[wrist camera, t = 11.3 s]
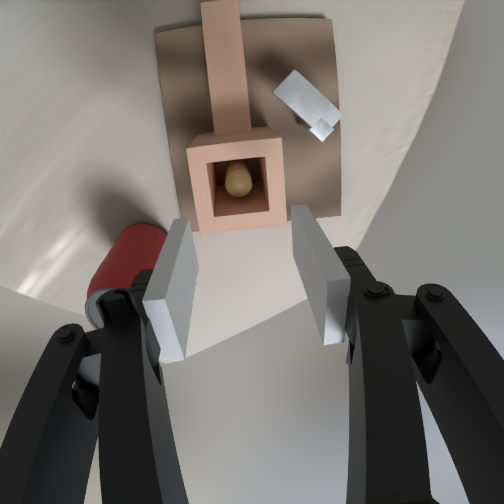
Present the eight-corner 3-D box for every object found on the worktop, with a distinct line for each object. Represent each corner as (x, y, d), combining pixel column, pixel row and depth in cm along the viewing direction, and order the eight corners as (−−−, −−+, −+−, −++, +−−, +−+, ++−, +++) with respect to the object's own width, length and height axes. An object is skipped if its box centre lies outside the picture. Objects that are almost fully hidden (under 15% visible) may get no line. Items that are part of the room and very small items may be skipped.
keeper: (304, 131, 29) (322, 141, 23) (262, 95, 27) (270, 95, 21) (323, 111, 28) (345, 117, 22) (281, 74, 26) (294, 69, 21)
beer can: (113, 262, 35) (76, 330, 24) (126, 212, 32) (83, 271, 21) (165, 281, 36) (145, 356, 26) (183, 233, 34) (163, 301, 23)
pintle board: (158, 35, 24) (136, 20, 17) (327, 22, 24) (354, 4, 17) (186, 226, 33) (176, 262, 27) (336, 210, 33) (361, 241, 27)
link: (273, 191, 30) (287, 224, 23) (207, 199, 30) (200, 234, 23) (256, 6, 22) (265, -23, 15) (184, 14, 22) (167, -12, 15)
